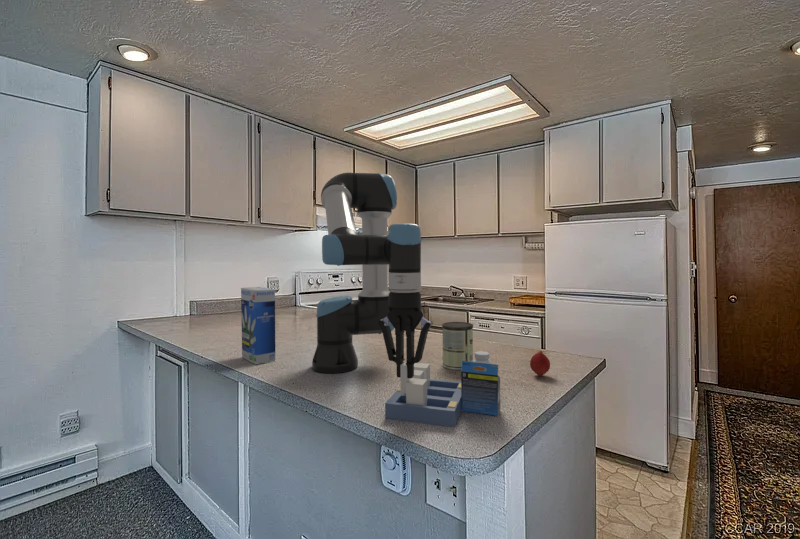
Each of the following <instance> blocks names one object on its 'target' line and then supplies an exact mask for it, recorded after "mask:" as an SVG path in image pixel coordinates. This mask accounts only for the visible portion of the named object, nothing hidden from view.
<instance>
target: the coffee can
mask: <svg viewBox="0 0 800 539" xmlns="http://www.w3.org/2000/svg"><path fill="white" fill-rule="evenodd" d="M441 327H442V367H444V368H445V369H448V370H453V371H461V368H462V361H469V362H473V360H474V350H473V349H474V342H473V340H474V337H473V336H474V329H473V328H474V324H473V323H471V322H466V321H447V322H444V323H442V324H441Z"/></svg>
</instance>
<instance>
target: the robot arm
mask: <svg viewBox="0 0 800 539" xmlns="http://www.w3.org/2000/svg"><path fill="white" fill-rule="evenodd" d="M397 193H398V192H397V187H396V183H395V180H394V178H393V177H392V176H391V175H390V174H387V173H386V174H385V173H384V174H383V173H379V172H378V173H374V172H373V173H372V172H371V173H368V172H367V173H365V172H343V173H340V174H337V175H335V176H333V177H332V178H330V179H329V180H327V182H325V184H324V186H323V187H322V190H321V194H320V202H321V204H322V205H321V206H322V207H323V208H324V209H325V217H326V218H325V219H326V226H327V234H325V235H323V236H322V238H321V254H322V256H321V259H322V262H323V264H325V265H326V266H327V265H329V266H330V265H331V266H357V265H358V266H360V265H361V266H362V269H361V271H362V272H361V273H362V290H361V291H360V292H359V293H358V296H357V298H358V299H356V300H354V299H353V297H352V296H351V295H344V296H343V295H341V296H334V297H328V298H325V299H321V300H320V301H319V302H318V303H317V305H316V315H315V317H316V341H317V342H316V347H315V348H316V349H315V351H314V355H313V358H312V360H311V369H312V370H313V371H314V372H317V373H321V374H341V373H342V374H343V373H347V372H351V371H354V370H355V369H357V368H358V367H359V358H358V355H357V353H356V350H355V346H354V345H353V336H354V335H355V336H359V335H360V336H361V335H382V336H383V340H384V345H385V350H386V354H387V357H388V360H389V361H390V362H393V363H395V365H396V377H397V378H400V387H401V393H406V383H407V382H408V381H409V380H410V378H412V377H413V376H414V364H415V363H420V361H422V359H423V354H424V350H425V346H426V342H427V339H428V333H429V331H430V329H431V327H433V321H431V320H428V319H426V318H425V316H424V314H423V311H422V293H421V291H419V290H421V289H422V276H421V274H422V271H421V270H422V261H421V260H422V259H421V258H422V252H421V251H422V245H421V244H422V235H421V228H420V226H419V225H418V224H416V223H393V224H390V225H389V226H388V218H390V216H392V210H395V209H396V207H397V204H398V196H397V195H398V194H397ZM352 209H356V211H357V216H358V217H359V218H360V219H361V234H358V232H357V227H356V224H355V220H354V218H355V217H354V215H353V211H352ZM419 325H420V327H421V330H420V334H419V338H418V340H417V346H416V351H415V334H416V330H415V329H416V328H417V327H418V326H419ZM393 331H394V335H395V343H394V339H393V333H392V332H393ZM405 336H406V339H404V338H405ZM405 340H406V344H405ZM405 345H406V346H405ZM405 347H406V351H405ZM405 352H406V358H405ZM405 360H406V361H405Z"/></svg>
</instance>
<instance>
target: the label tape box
mask: <svg viewBox="0 0 800 539" xmlns="http://www.w3.org/2000/svg"><path fill="white" fill-rule="evenodd" d="M478 366H480V367H481V368H485V371H481V370H474V369H473V367H478ZM460 378H461V380H460V382H461V412H465V413H472V414H480V415H481V414H482V415H488V416H493V417H499V414H500V411H501V377H500V376H499V364H497V363H496V364H493V363H492V364H486V363H478V362H469V361H462V368H461V370H460Z"/></svg>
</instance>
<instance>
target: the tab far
mask: <svg viewBox="0 0 800 539" xmlns="http://www.w3.org/2000/svg"><path fill="white" fill-rule="evenodd" d="M414 370H420V371H424V379H427V386H430V379H431V363H423V362H418V363H414Z"/></svg>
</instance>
